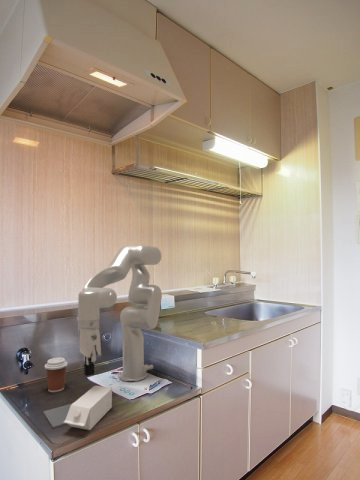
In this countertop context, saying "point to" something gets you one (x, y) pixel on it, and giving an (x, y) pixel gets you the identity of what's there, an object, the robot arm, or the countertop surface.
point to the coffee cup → (56, 374)
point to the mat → (57, 415)
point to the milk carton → (90, 408)
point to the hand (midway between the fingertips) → (89, 374)
